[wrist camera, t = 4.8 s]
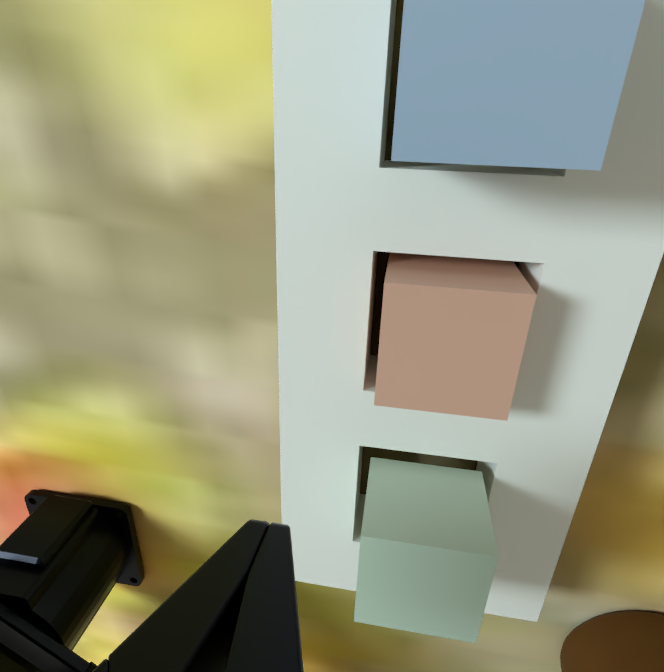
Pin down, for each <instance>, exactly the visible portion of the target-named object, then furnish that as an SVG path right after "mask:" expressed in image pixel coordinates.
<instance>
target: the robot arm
mask: <svg viewBox="0 0 664 672" xmlns="http://www.w3.org/2000/svg"><path fill="white" fill-rule="evenodd" d="M25 502H26V505H27V508H28V511H29V514H30V516H29V517H28V518H27V519H26V520H25V521H24V522H23V523H22V524H21V525H20V526H19V527H18V528H17V529H16V530H15V531H14V532H13V533H12V534H11V535H10V536H9V537H8V538H7V539H6V540H5V541H4V542H3V543H2V544H1V545H0V672H304V671H303V660H302V650H301V639H300V628H299V617H298V606H297V596H296V585H295V574H294V563H293V552H292V542H291V531H290V527H289V525H285V524H279V523H271V524H270V525H269V523H268V522H266V521H259V520H249V521H248V522H246V523H245V524H244V525H243V526H242V527H241V528H240V529H239V530H238V531H237V532H236V533H235V534H234V535H233V536H232V537H231V538H230V539H229V540H228V541H227V542H226V543H225V544H224V545H223V546H222V547H221V548H220V549H219V550H217V551H216V552H215V553H214V554H213V555H212V556H211V557H210V558H209V559H208V560H207V561H206V562H205V563H204V564H203V565H202V566H201V567H200V568H199V569H198V570H197V571H196V572H195V573H194V574H193V575H192V576H191V577H190V578H189V579H188V580H187V581H185V582H184V583H183V584H182V585H181V586H180V587H179V588H178V589H177V590H176V591H175V592H174V593H173V594H172V595H171V596H170V597H169V598H168V599H167V600H166V601H165V602H164V603H163V604H162V605H161V606H160V607H159V608H158V609H157V610H156V611H155V612H153V613H152V614H151V615H150V616H149V617H148V618H147V619H146V620H145V621H144V622H143V623H142V624H141V625H140V626H139V627H138V628H137V629H136V630H135V631H134V632H133V633H132V634H131V635H130V636H129V637H128V638H127V639H126V640H125V641H124V642H123V643H121V644H120V645H119V646H118V647H117V648H116V649H115V650H114V651H113V652H112V653H111V654H110V655H109V661H108V660H107V659H105V660H104V661H103V662H102V663H100V664H99V665H98V666H97V665H96V664H94V663H93V662H90V663H89V662H87V661H86V660H84V659H83V658H81V657H80V656H79V655H77V654H76V653H74V652H73V651H72V650H73V649H74V647H75V646H76V644H77V642H78V641H79V639H80V638H81V636H82V635H83V633H84V632H85V630H86V629H87V627H88V625H89V624H90V622H91V621H92V619H93V618H94V616H95V615H96V613H97V612H98V610H99V608H100V607H101V605H102V604H103V602H104V601H105V599H106V598H107V596H108V595H109V593H110V591H111V590H112V588H113V587H114V585H115V584H116V582H117V583H122V584H128V585H133V586H139V585H140V584H141V583H142V581H143V579H144V571H143V566H142V561H141V557H140V552H139V547H138V542H137V537H136V532H135V527H134V522H133V518H132V513H131V510H130V508H129V507H128V506H127V505H125V504H123V503H117V502H111V501H104V500H98V499H92V498H85V497H79V496H72V495H66V494H59V493H53V492H46V491H40V490H31V491H30V492H29V493H28V494H27V495H26V496H25Z"/></svg>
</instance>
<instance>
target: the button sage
mask: <svg viewBox="0 0 664 672" xmlns="http://www.w3.org/2000/svg"><path fill="white" fill-rule="evenodd" d="M498 558H499V556H498V551H497V546H496V541H495V536H494V531H493V525H492V520H491V515H490V510H489V505H488V500H487V495H486V489H485V484H484V479H483V474H482V472H481V471H474V470H466V469H459V468H451V467H443V466H436V465H428V464H420V463H413V462H405V461H397V460H390V459H382V458H375V457H371V460H370V468H369V475H368V483H367V491H366V498H365V506H364V514H363V522H362V529H361V538H360V550H359V563H358V575H357V587H356V600H355V612H354V622H359V623H365V624H370V625H376V626H382V627H387V628H393V629H398V630H404V631H410V632H415V633H421V634H426V635H432V636H438V637H443V638H449V639H454V640H460V641H466V642H471V643H476V641H477V637H478V633H479V630H480V626H481V622H482V618H483V614H484V611H485V607H486V603H487V599H488V595H489V592H490V588H491V584H492V580H493V577H494V573H495V569H496V565H497V561H498Z"/></svg>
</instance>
